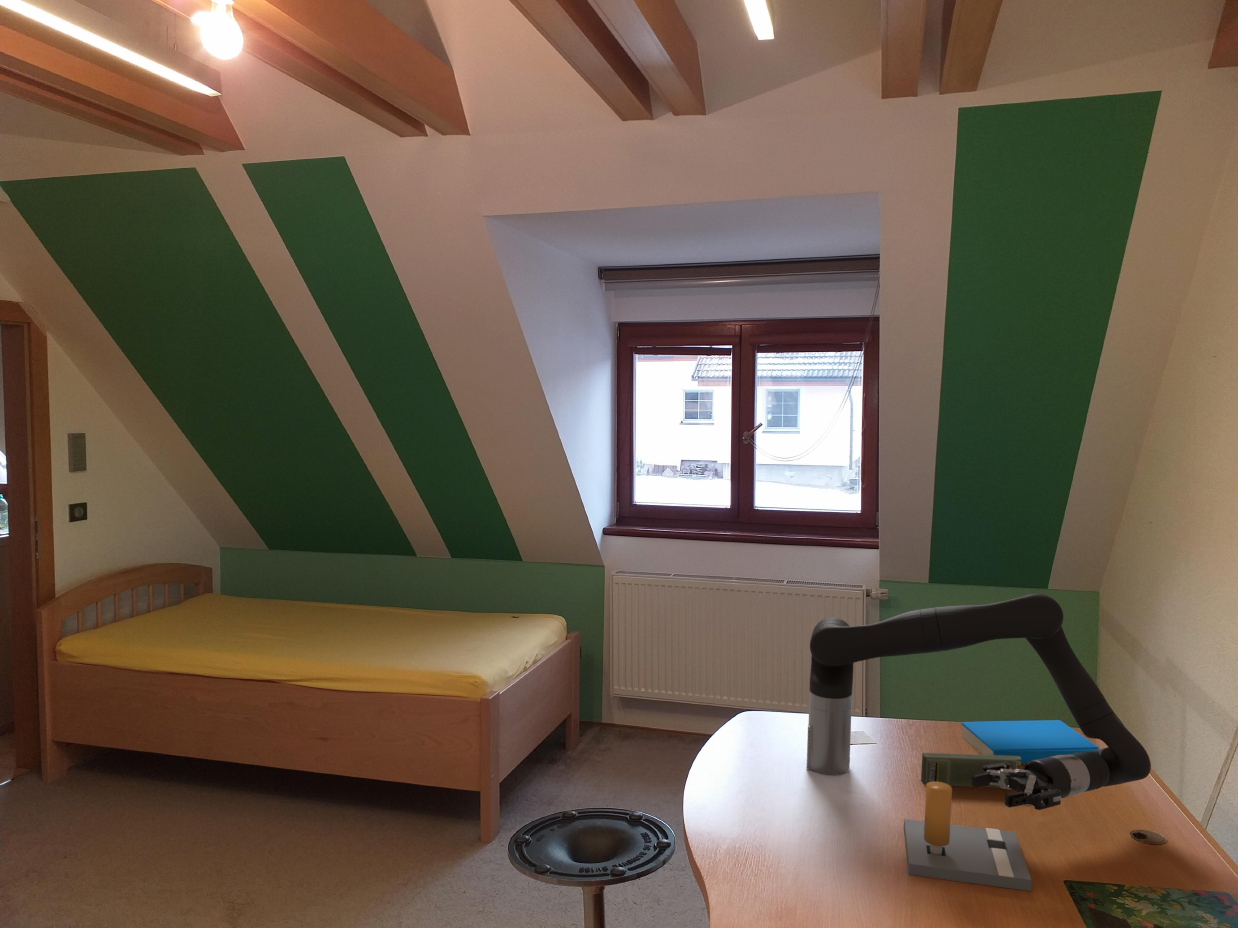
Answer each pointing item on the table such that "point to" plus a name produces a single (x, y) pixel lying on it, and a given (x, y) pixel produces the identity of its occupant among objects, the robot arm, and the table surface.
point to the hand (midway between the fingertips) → (989, 791)
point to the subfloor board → (969, 856)
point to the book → (1025, 739)
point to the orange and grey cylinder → (937, 816)
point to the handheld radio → (960, 767)
